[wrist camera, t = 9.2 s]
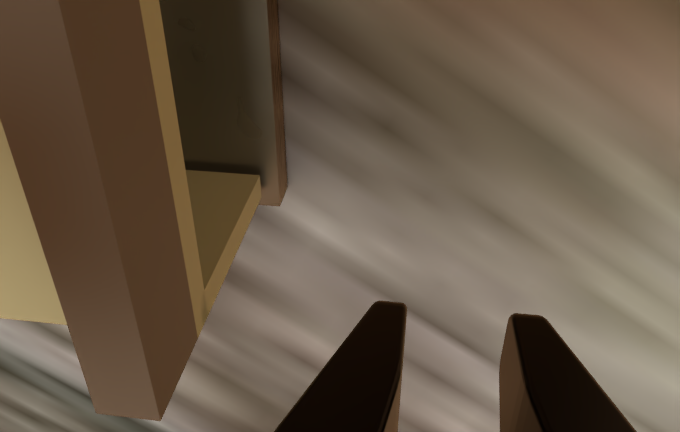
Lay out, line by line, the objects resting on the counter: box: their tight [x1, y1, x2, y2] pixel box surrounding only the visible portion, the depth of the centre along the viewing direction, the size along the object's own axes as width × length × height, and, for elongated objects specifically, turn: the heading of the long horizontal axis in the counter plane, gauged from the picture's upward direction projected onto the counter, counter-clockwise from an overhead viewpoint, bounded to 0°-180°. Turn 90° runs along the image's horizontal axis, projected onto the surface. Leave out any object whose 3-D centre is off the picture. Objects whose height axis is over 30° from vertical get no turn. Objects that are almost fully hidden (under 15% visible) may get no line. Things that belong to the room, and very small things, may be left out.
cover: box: [0, 0, 262, 421], centre depth 14 cm, size 10×7×9 cm
